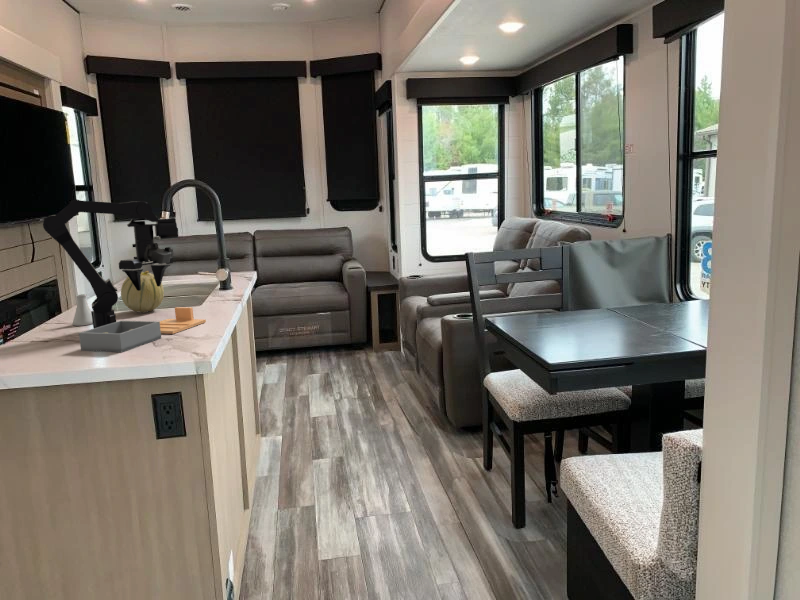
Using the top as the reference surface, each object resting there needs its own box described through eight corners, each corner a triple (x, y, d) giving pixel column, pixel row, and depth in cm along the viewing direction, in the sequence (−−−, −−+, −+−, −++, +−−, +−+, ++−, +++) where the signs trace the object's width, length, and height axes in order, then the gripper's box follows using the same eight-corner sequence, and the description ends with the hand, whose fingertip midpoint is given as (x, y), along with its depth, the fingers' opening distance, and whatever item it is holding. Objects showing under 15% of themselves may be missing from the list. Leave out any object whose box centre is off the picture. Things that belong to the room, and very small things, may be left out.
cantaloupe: (131, 309, 237) (126, 269, 235) (171, 306, 238) (166, 267, 236) (116, 317, 223) (111, 274, 220) (159, 314, 224) (154, 272, 221)
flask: (68, 326, 211) (63, 296, 209) (85, 321, 218) (81, 292, 216) (84, 326, 208) (80, 297, 207) (101, 322, 215) (97, 293, 213)
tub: (81, 350, 175) (78, 332, 174) (122, 336, 190) (120, 320, 189) (122, 352, 171) (119, 334, 170) (161, 338, 186) (159, 321, 185)
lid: (133, 334, 195) (131, 317, 194) (168, 322, 210) (166, 306, 209) (173, 335, 190) (171, 318, 189) (206, 323, 206) (204, 307, 205)
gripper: (144, 242, 192) (148, 293, 195) (184, 238, 209) (188, 284, 212) (115, 242, 196) (120, 292, 198) (156, 238, 213) (161, 284, 216)
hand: (149, 288), depth 206 cm, fingers open, 9 cm apart
